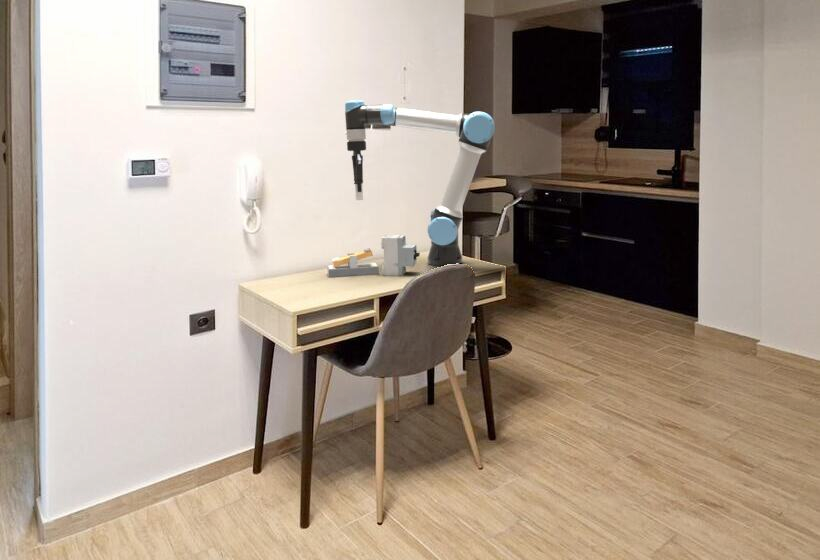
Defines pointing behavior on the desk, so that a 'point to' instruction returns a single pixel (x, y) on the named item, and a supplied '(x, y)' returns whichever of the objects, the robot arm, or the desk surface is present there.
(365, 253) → the lever
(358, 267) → the grey block
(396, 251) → the circuit breaker
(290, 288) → the desk surface
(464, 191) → the robot arm
